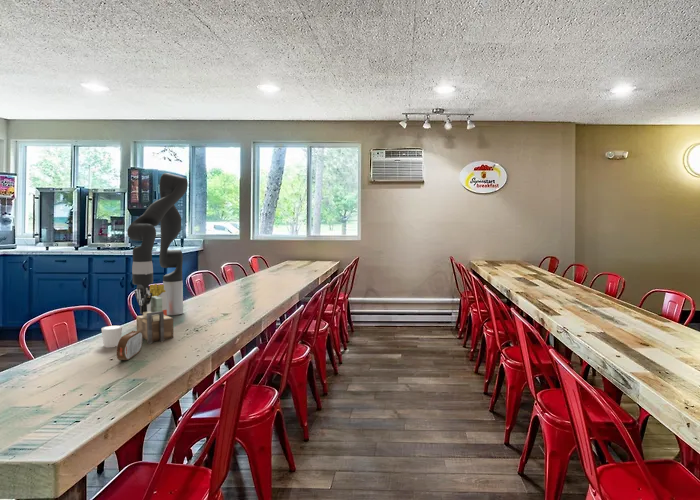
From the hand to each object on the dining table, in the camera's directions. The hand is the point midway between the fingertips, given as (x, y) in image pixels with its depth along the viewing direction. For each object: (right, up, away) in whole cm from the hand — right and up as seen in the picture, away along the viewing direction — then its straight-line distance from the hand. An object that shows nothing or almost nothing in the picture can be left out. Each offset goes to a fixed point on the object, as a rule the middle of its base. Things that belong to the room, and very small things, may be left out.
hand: (143, 313), depth 164 cm
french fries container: (-7, -8, +24) cm, 27 cm away
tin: (+8, -12, -23) cm, 27 cm away
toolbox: (+4, -10, 0) cm, 11 cm away
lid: (+4, -3, +1) cm, 5 cm away
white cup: (-6, -11, -11) cm, 16 cm away
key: (+5, -1, -4) cm, 7 cm away
